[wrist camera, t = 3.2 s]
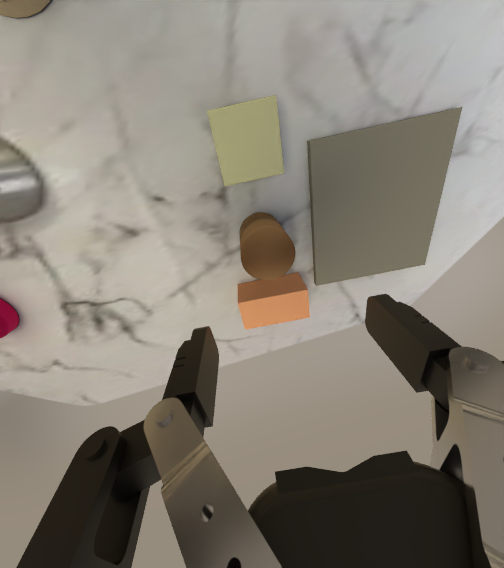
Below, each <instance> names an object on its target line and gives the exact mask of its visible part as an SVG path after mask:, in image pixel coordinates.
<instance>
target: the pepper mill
mask: <svg viewBox="0 0 504 568" xmlns="http://www.w3.org/2000/svg"><path fill="white" fill-rule="evenodd" d="M18 323H19V317H18V314H17V312H16V311H15V310H14V308H12V307H11V306H10V305H9V304H8V303H7V302H5V301H3V300H2V299H0V338H2V337H4V336H6V335H7V334H8V333H10V332H11V331H12V330H14V329H15V328H16V327H17V326H18Z"/></svg>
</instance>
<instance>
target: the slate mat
mask: <svg viewBox="0 0 504 568" xmlns="http://www.w3.org/2000/svg"><path fill="white" fill-rule="evenodd" d="M461 110H462V107H460V108H455V109H451V110H446V111H442V112H437V113H433V114H428V115H424V116H419V117H415V118H410V119H405V120H401V121H396V122H392V123H387V124H383V125H378V126H374V127H369V128H365V129H360V130H356V131H351V132H347V133H342V134H337V135H333V136H328V137H324V138H319V139H315V140H310V141H307V142H308V162H309V182H310V203H311V223H312V243H313V264H314V283H315V284H316V286H317V285H322V284H327V283H332V282H338V281H343V280H348V279H353V278H358V277H363V276H368V275H374V274H379V273H384V272H389V271H394V270H399V269H404V268H409V267H415V266H420V265H425V262H426V257H427V253H428V249H429V245H430V240H431V236H432V232H433V228H434V224H435V219H436V215H437V211H438V207H439V203H440V198H441V194H442V190H443V186H444V182H445V177H446V173H447V169H448V165H449V160H450V156H451V152H452V148H453V144H454V139H455V135H456V131H457V127H458V123H459V118H460V114H461Z"/></svg>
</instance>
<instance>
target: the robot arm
mask: <svg viewBox="0 0 504 568" xmlns="http://www.w3.org/2000/svg"><path fill="white" fill-rule="evenodd" d="M49 2H50V0H0V15H4V16H9V17H14V18H19V17H29V16H31V15H33V14H35V13H38V12H40V11H41V10H42V9H43V8H44V7H45V6H46V5H47V4H48V3H49ZM365 324H366V328H367V330H368V332H369V334H370V335H371V336H372V337H373V339H374V340H375V341H376V342H377V344H378V345H379V346H380V347H381V349H382V350H383V351H384V352H385V354H386V355H387V356H388V357H389V359H390V360H391V361H392V362H393V363H394V365H395V366H396V367H397V369H398V370H399V371H400V372H401V374H402V375H403V376H404V377H405V379H406V380H407V381H408V382H409V384H410V385H411V386H412V387H413V389H414V390H415V391H416V392H423V391H429V392H430V393H431V394H432V395H433V397H432V400H431V405H432V436H433V449H432V455H431V461H430V466H428V465H425V464H420V463H417V462H413V461H412V459H411V457H410V456H409V454H408V452H407V451H401V452H395V453H389V454H383V455H377V456H373V457H371V458H369V459H368V460H366V461H364V462H362V463H360V464H359V465H357V466H355V467H353V468H352V469H350V470H348V471H346V472H337V471H330V470H324V469H317V468H312V467H302V468H296V469H290V470H283V471H277V472H275V475H276V482H275V483H273V484H272V485H270V486H269V487H268V488H266V489H265V490H264V491H263V492H262V493H261V494H260V495H259V496H258V497H257V498H256V500H255V501H254V502H253V504H252V505H251V506H250V508H249V510H248V511H247V509H246V507H245V506H244V504H243V502H242V501H241V499H240V497H239V496H238V494H237V492H236V491H235V489H234V487H233V486H232V484H231V483H230V481H229V479H228V478H227V476H226V475H225V473H224V471H223V469H222V468H221V466H220V465H219V463H218V461H217V460H216V458H215V456H214V455H213V453H212V451H211V450H210V448H209V446H208V445H207V444H206V442H205V440H204V439H203V435H204V428H205V427H211V426H213V416H214V407H215V396H216V386H217V385H216V384H217V375H218V364H219V353H218V348H217V345H216V342H215V340H214V337H213V334H212V331H211V329H210V327H209V326H207V327H202V328H197V329H194V330H193V333H192V336H191V340H188V341H185V342H184V343H183V344H182V346H181V347H180V348H179V349H178V352H177V355H176V358H175V359H176V360H175V362H174V365H173V368H172V371H171V374H170V377H169V380H168V383H167V386H166V389H165V393H164V396H163V399H162V401H160V402H159V403H158V404H156V405H155V406H154V407H153V408H152V409H151V410H150V411H149V413H148V414H147V416H146V418H145V420H143V421H141V422H140V423H138V424H136V425H133V426H132V427H129V428H127V429H126V430H123V431H122V432H119V431H118V430H117V429H116V428H115V427H111V426H110V427H105V428H102V429H100V430H98V431H97V432H95V433H94V434H92V435H91V436H90V437H89V438H88V439H86V441H84V443H83V444H82V445H81V446H80V448H79V449H78V451H77V452H76V454H75V456H74V458H73V460H72V462H71V464H70V466H69V468H68V469H67V471H66V473H65V475H64V477H63V479H62V481H61V483H60V485H59V487H58V489H57V491H56V492H55V494H54V496H53V498H52V500H51V502H50V504H49V506H48V508H47V510H46V512H45V514H44V516H43V518H42V519H41V521H40V523H39V525H38V527H37V529H36V531H35V533H34V535H33V537H32V539H31V541H30V542H29V545H28V546H27V548H26V550H25V552H24V554H23V556H22V558H21V560H20V562H19V564H18V566H17V568H131V566H132V562H133V557H134V553H135V549H136V545H137V540H138V536H139V532H140V527H141V523H142V518H143V514H144V510H145V505H146V501H147V497H148V493H149V488H150V486H151V485H153V484H154V483H156V482H158V481H159V480H161V479H162V483H163V487H162V488H161V493H162V497H163V500H164V503H165V506H166V509H167V512H168V515H169V518H170V521H171V523H172V527H173V530H174V533H175V535H176V538H177V541H178V544H179V547H180V550H181V553H182V556H183V558H184V562H185V565H186V567H187V568H504V361H500V360H498V359H497V358H496V357H494V356H492V355H490V354H489V353H487V352H484V351H482V350H479V349H475V348H471V347H462V346H460V345H459V344H458V343H456V342H455V341H454V340H453V339H452V338H450V337H449V336H448V335H446V334H445V333H444V332H443V331H441V330H440V329H439V328H438V327H436V326H435V325H434V324H433V323H430V322H429V320H428V319H426V318H425V317H424V316H422V315H421V314H420V313H419V312H418V311H416V310H415V309H414V308H412V307H410V306H408V305H406V304H404V303H401V302H396V301H395V300H394V299H392V298H391V297H390V296H389V295H387V294H382V295H376V296H371V297H369V298H368V300H367V308H366V318H365Z"/></svg>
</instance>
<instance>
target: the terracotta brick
mask: <svg viewBox="0 0 504 568" xmlns="http://www.w3.org/2000/svg"><path fill="white" fill-rule="evenodd" d="M238 305H239V309H240V313H241V316H242V320H243V324H244V328H245V329H250V328H255V327H261V326H266V325H271V324H277V323H282V322H287V321H293V320H298V319H303V318H309V317H310V315H309V299H308V289H307V287H306V285H305V284H304V282H303V280H302V278H301V277H300V275H299V273H293V274H287V275H282V276H281V277H279V278H276V279H273V280H257V281H252V282H247V283H242V284H238Z"/></svg>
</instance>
